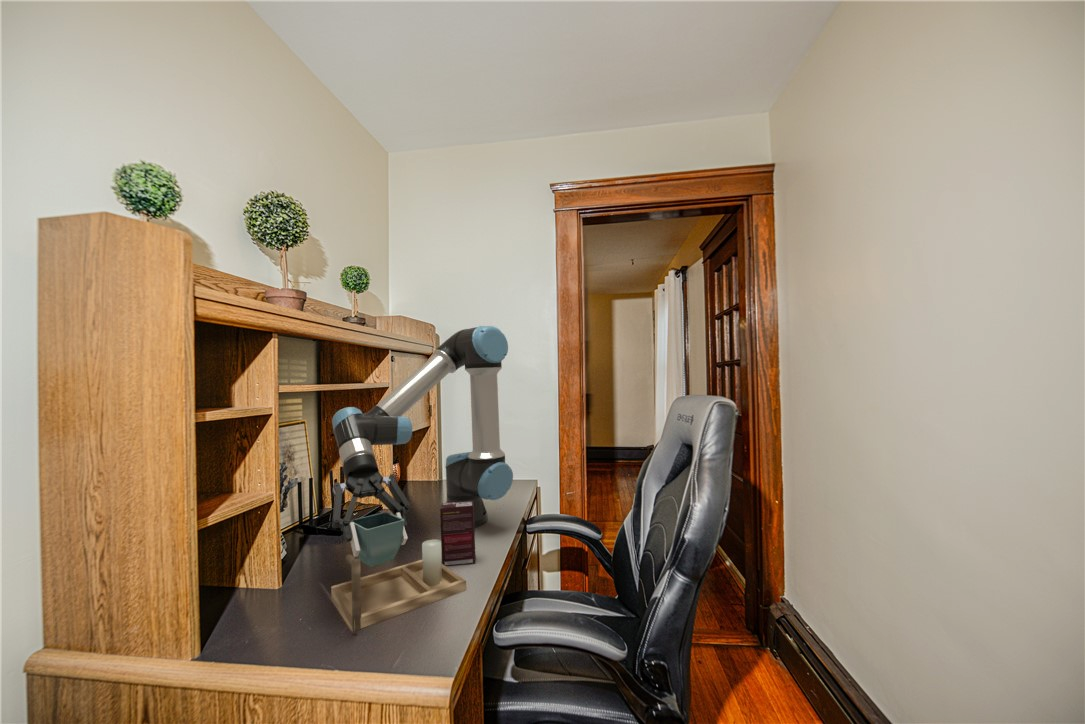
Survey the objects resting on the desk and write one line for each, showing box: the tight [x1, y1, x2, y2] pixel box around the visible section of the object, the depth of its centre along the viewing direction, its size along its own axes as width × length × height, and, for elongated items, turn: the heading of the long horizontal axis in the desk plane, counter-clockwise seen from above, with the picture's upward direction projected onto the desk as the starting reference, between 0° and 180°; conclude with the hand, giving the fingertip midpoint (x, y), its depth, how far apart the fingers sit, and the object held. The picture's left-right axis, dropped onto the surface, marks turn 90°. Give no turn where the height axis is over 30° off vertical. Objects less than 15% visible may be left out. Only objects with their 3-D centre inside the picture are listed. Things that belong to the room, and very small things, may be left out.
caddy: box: [330, 553, 467, 637], centre depth 99 cm, size 24×18×14 cm
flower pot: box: [349, 511, 404, 568], centre depth 97 cm, size 9×9×9 cm
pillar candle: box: [421, 539, 442, 586], centre depth 104 cm, size 4×4×9 cm
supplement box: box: [439, 501, 477, 568], centre depth 115 cm, size 9×5×16 cm, turn 98°
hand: (381, 547), depth 94 cm, fingers closed on flower pot, 9 cm apart
